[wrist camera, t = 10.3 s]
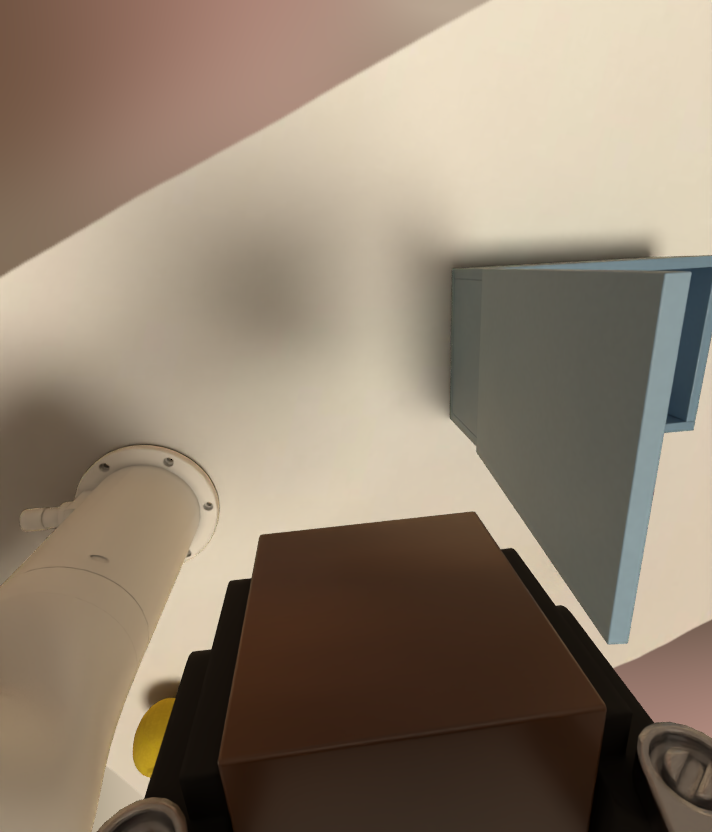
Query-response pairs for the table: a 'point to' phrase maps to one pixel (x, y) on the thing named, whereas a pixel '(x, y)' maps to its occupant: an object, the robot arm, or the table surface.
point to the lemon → (151, 735)
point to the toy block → (404, 689)
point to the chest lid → (580, 416)
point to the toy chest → (708, 289)
